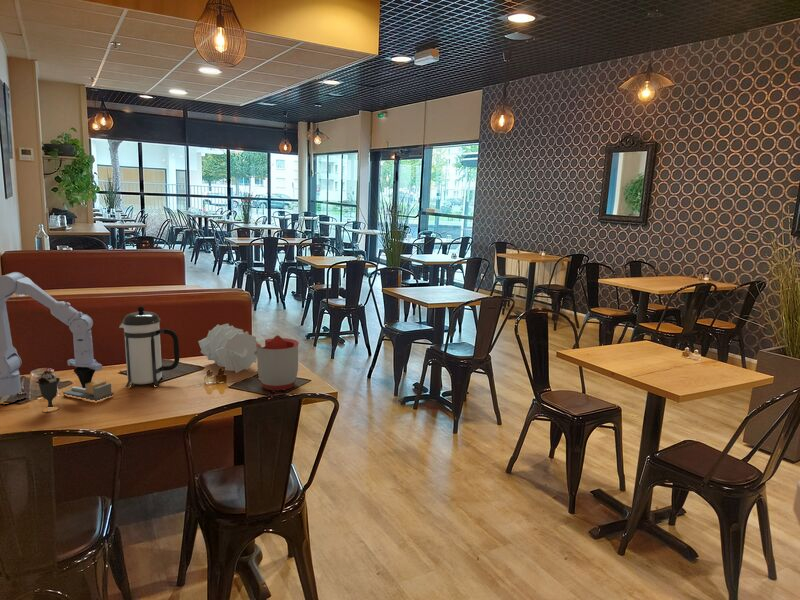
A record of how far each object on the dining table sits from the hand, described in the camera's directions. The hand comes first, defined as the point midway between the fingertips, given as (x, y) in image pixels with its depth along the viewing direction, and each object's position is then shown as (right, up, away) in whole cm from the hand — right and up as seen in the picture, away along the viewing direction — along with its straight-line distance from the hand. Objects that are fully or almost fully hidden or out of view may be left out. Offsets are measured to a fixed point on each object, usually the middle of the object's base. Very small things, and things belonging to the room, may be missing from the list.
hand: (86, 387), depth 197 cm
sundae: (-5, -6, -12) cm, 14 cm away
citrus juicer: (+63, -2, +16) cm, 65 cm away
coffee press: (+15, -1, +16) cm, 22 cm away
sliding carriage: (+4, -2, -1) cm, 5 cm away
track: (+1, -3, 0) cm, 3 cm away
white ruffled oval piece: (+39, +2, +38) cm, 55 cm away
